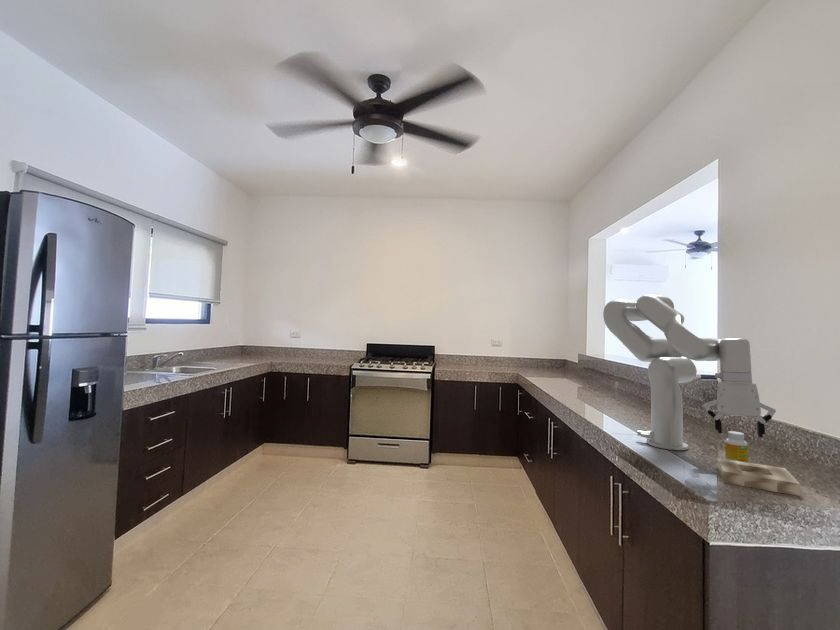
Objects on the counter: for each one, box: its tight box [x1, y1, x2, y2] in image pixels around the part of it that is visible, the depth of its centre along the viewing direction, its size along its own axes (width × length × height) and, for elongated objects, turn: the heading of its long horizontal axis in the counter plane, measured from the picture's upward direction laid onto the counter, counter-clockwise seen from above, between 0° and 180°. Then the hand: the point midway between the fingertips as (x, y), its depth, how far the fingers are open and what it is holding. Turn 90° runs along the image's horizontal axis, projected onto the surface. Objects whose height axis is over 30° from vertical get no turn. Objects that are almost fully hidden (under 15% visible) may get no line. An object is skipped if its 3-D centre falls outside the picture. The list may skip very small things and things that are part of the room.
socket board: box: [716, 457, 801, 497], centre depth 105 cm, size 15×14×3 cm
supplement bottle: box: [724, 430, 749, 463], centre depth 119 cm, size 5×5×10 cm
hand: (739, 434), depth 119 cm, fingers open, 9 cm apart
